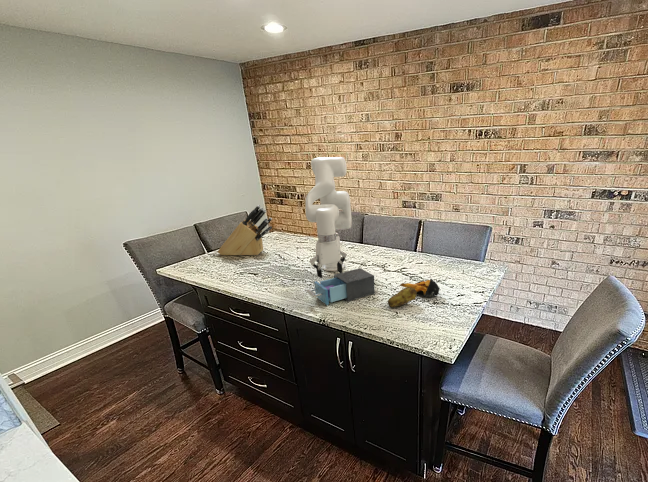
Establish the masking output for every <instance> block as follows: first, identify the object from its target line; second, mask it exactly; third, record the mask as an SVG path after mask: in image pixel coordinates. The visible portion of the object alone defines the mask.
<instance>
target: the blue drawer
mask: <svg viewBox="0 0 648 482" xmlns="http://www.w3.org/2000/svg"><path fill="white" fill-rule="evenodd" d="M313 284H314V288H313V289H307V290H306V293H308V294H309V295H310V296H311V297H312V298H314V299H315V298H316V299H318V300H319V301H321V302H322V303H323V304H325V305H326V306H328V305H330V303H333V302H338V301H341V300H345V299H344V298H347V293H346V284H345V283H344V282H342V281H341V280H339V279H337V278H334V277H333V278H328V279H324V280H320V281H319V282H318V281H317V280H315V281H314V282H313ZM331 285H333V286H334V287H330V288H329V294H330V298H329V297H328V289H327V288H325V287H327V286H331Z"/></svg>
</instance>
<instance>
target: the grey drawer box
mask: <svg viewBox="0 0 648 482" xmlns="http://www.w3.org/2000/svg"><path fill="white" fill-rule="evenodd" d="M333 278H337V279H339V280H341V281H342V282H344V283H345V284H346V293H347V298H344V299H343V300H345V301H346V302H350V301H354V300H357V299H361V298H363V297H367V296H370V295H374V294H375V292H376V291H375V275H374V274H373V273H370V272H368V271H367V270H365V269H363V268H360V267H359V268H355V269H351V270H346V271H342V273H339V272H338V273H334V274H333Z"/></svg>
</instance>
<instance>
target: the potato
mask: <svg viewBox="0 0 648 482" xmlns="http://www.w3.org/2000/svg"><path fill="white" fill-rule="evenodd" d="M416 294H417V292H416V290H415V289H414V288H412V287H403V288H402V289H401V290H400V291H398V292H397V293H396V294H394V295H392V296H391V297H390V298H388V300H387V305H388V306H389V307H390V308H396V307H402V306H404V305H407V304H409V303H410V302H413V301H415V300H416V298H417V295H416Z"/></svg>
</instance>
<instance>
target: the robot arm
mask: <svg viewBox="0 0 648 482" xmlns="http://www.w3.org/2000/svg"><path fill="white" fill-rule="evenodd" d="M310 168H311V171H312V173H313V175H314V181H315V182H314V184H315V185H314V186H313V187H312V188H310V190H309V192H308V193H307V194H306V197H305V208H304V209H305V210H304V211H305V217H306V220H307V221H308V222H309V223H316V233H317V241H315V256H314V257H312V258H311V259H310V260H309V263H310V264H311V266H312V267H313V268H315V269H316V275H317V277H318V278H319V279H322V278H323V270H324V271H327V272H336V271H337V272H338V273H342V272H343V269H345V264H344V262H345V261H346V258H347V255H348V254H347V253H346V252H344V251H342V249H341V238H340V235H339V233H338V232H337V231H338V230H340V231H341V230H349V229H351V228H352V224H353V218H352V204H351V203H352V201H351V196H350V193H349V192H348V191H346V190H336V181H335V178H338V177H346V175H347V173H348V172H347V171H348V166H347V160H346V159H345V157H344V156H322V157H319V156H318V157H314V158H312V159H311V160H310ZM317 200H319V202H320V204H314V203H315V202H316V201H317ZM315 262H316V263H315Z"/></svg>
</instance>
